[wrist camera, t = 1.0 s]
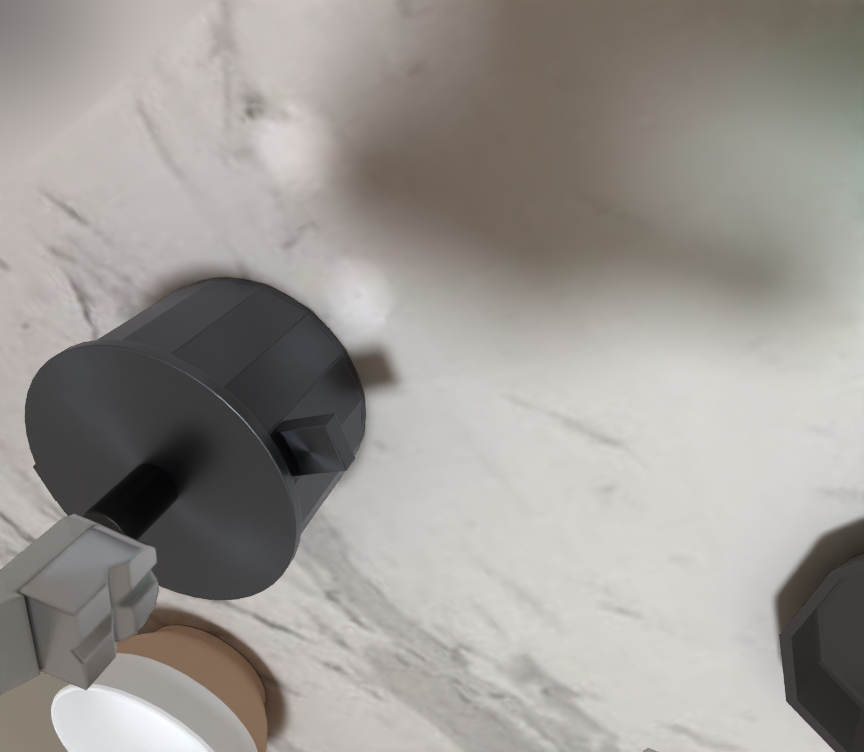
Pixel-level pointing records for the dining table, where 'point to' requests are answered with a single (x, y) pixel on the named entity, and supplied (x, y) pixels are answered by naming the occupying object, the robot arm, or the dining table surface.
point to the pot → (266, 372)
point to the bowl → (166, 699)
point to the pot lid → (165, 465)
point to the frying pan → (829, 658)
